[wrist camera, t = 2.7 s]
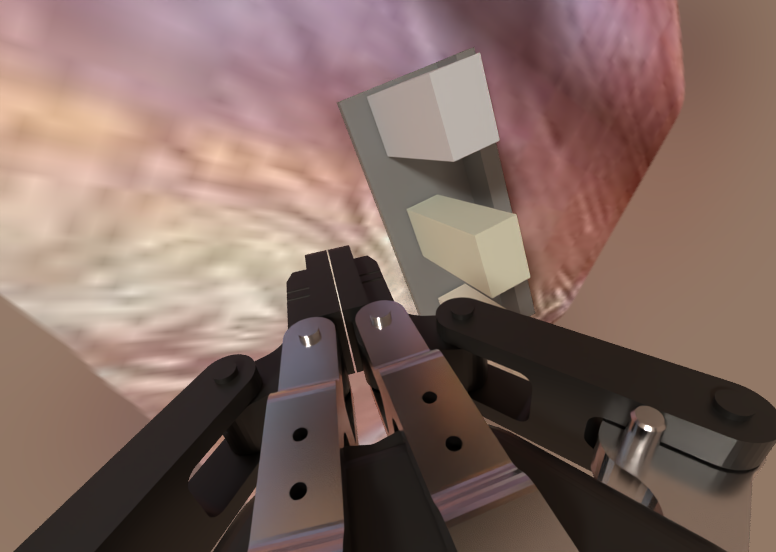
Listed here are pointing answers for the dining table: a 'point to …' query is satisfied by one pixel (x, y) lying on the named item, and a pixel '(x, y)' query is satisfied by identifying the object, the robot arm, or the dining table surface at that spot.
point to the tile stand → (426, 196)
